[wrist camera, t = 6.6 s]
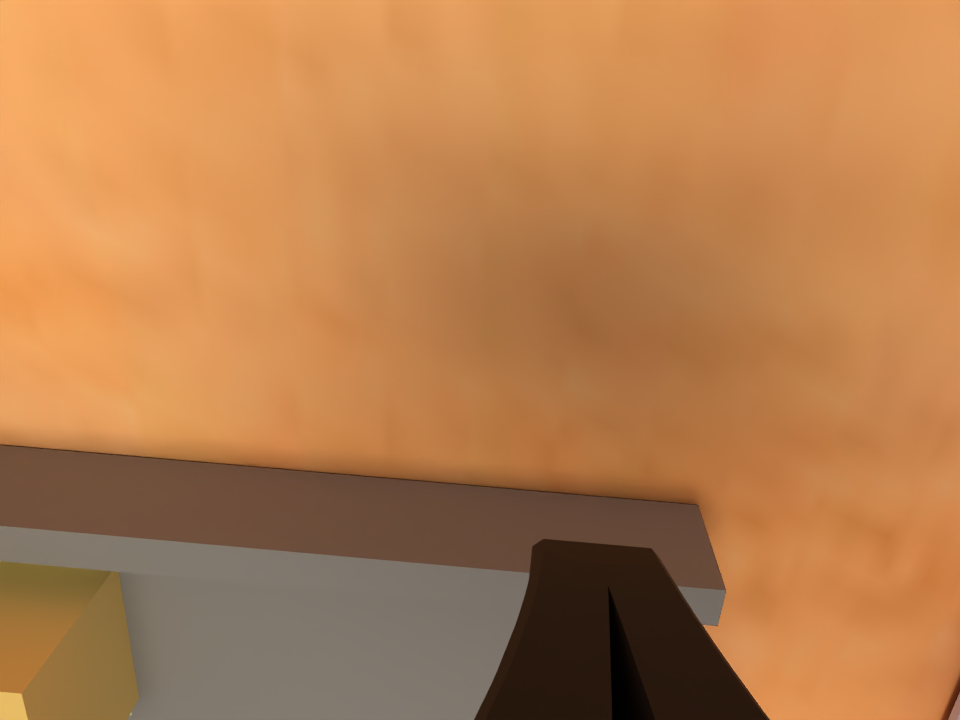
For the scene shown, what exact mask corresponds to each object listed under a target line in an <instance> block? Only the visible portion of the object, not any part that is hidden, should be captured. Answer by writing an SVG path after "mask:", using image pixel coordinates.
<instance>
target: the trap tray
mask: <svg viewBox="0 0 960 720" xmlns="http://www.w3.org/2000/svg"><path fill="white" fill-rule="evenodd" d="M542 539H552V540H563V541H575V542H587V543H598V544H610V545H621V546H633V547H644V548H652V549H653V551H654V552H655V553H656V554H657V555H658V557H659V558H660V559H661V561H662V563H663V564H664V566H665V568H666V569H667V571H668V572H669V574H670V576H671V577H672V579H673V580H674V582H675V584H676V585H677V587H678V588H679V590H680V592H681V593H682V595H683V596H684V598H685V599H686V601H687V603H688V604H689V606H690V607H691V609H692V610H693V612H694V613H695V615H696V616H697V618H698V619H699V621H700V622H701V624H702V625H711V626H718V622H719V618H720V614H721V610H722V606H723V602H724V597H725V593H726V589H725V586H724V583H723V580H722V576H721V573H720V570H719V567H718V564H717V561H716V558H715V555H714V552H713V549H712V546H711V543H710V540H709V537H708V534H707V531H706V528H705V525H704V522H703V519H702V516H701V513H700V509H699V506H698V505H690V504H679V503H667V502H655V501H644V500H632V499H620V498H609V497H597V496H586V495H574V494H562V493H551V492H539V491H528V490H516V489H504V488H493V487H481V486H469V485H458V484H446V483H435V482H423V481H411V480H400V479H388V478H377V477H365V476H353V475H342V474H330V473H318V472H307V471H295V470H284V469H272V468H260V467H249V466H237V465H226V464H214V463H202V462H191V461H179V460H168V459H156V458H144V457H133V456H121V455H109V454H98V453H86V452H75V451H63V450H51V449H40V448H28V447H17V446H5V445H0V561H4V562H15V563H26V564H37V565H48V566H59V567H70V568H81V569H92V570H104V571H115V572H119V577H120V583H121V590H122V596H123V602H124V608H125V614H126V621H127V627H128V633H129V639H130V646H131V652H132V658H133V664H134V671H135V677H136V683H137V689H138V695H139V699H138V701H137V703H136V705H135V706H134V708H133V710H132V712H131V713H130V715H129V717H128V719H127V720H474V719H475V717H476V714H477V712H478V710H479V708H480V706H481V704H482V702H483V700H484V698H485V696H486V694H487V692H488V690H489V688H490V686H491V684H492V681H493V679H494V677H495V675H496V672H497V670H498V667H499V665H500V662H501V660H502V657H503V655H504V652H505V650H506V647H507V645H508V642H509V640H510V637H511V634H512V632H513V629H514V627H515V624H516V622H517V619H518V615H519V612H520V609H521V606H522V603H523V600H524V596H525V593H526V589H527V585H528V581H529V572H530V563H531V554H532V546H533V545H535V544H536V543H538V542H539V541H541V540H542Z"/></svg>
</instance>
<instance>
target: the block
mask: <svg viewBox="0 0 960 720" xmlns="http://www.w3.org/2000/svg"><path fill="white" fill-rule="evenodd" d="M138 699H139V695H138V689H137V683H136V677H135V671H134V664H133V658H132V652H131V646H130V639H129V633H128V627H127V621H126V614H125V608H124V602H123V596H122V590H121V583H120V577H119V572H115V571H104V570H92V569H81V568H70V567H59V566H48V565H37V564H26V563H15V562H4V561H0V720H127V719H128V717H129V715H130V713H131V712H132V710H133V708H134V706H135V705H136V703H137V701H138Z"/></svg>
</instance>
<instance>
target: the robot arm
mask: <svg viewBox="0 0 960 720" xmlns="http://www.w3.org/2000/svg"><path fill="white" fill-rule="evenodd" d="M474 720H770V719H769V718H768V717H767V715H766V714H765V713H764V712H763V710H762V709H761V707H760V706H759V705H758V703H757V702H756V701H755V699H754V698H753V696H752V695H751V694H750V692H749V691H748V690H747V688H746V687H745V685H744V684H743V683H742V681H741V680H740V679H739V677H738V676H737V674H736V673H735V672H734V670H733V669H732V668H731V666H730V665H729V663H728V662H727V661H726V659H725V658H724V656H723V655H722V653H721V652H720V650H719V649H718V648H717V646H716V645H715V643H714V642H713V640H712V639H711V637H710V636H709V634H708V633H707V631H706V630H705V628H704V627H703V625H702V624H701V622H700V621H699V619H698V618H697V616H696V615H695V613H694V612H693V610H692V609H691V607H690V606H689V604H688V603H687V601H686V599H685V598H684V596H683V595H682V593H681V592H680V590H679V588H678V587H677V585H676V584H675V582H674V580H673V579H672V577H671V576H670V574H669V572H668V571H667V569H666V568H665V566H664V564H663V563H662V561H661V559H660V558H659V557H658V555H657V554H656V553H655V552H654V551H653V549H652V548H644V547H633V546H621V545H610V544H598V543H587V542H575V541H563V540H552V539H542V540H541V541H539V542H538V543H536V544H535V545H533V546H532V554H531V563H530V572H529V581H528V585H527V589H526V593H525V596H524V600H523V603H522V606H521V609H520V612H519V615H518V619H517V622H516V624H515V627H514V629H513V632H512V634H511V637H510V640H509V642H508V645H507V647H506V650H505V652H504V655H503V657H502V660H501V662H500V665H499V667H498V670H497V672H496V675H495V677H494V679H493V681H492V684H491V686H490V688H489V690H488V692H487V694H486V696H485V698H484V700H483V702H482V704H481V706H480V708H479V710H478V712H477V714H476V717H475V719H474ZM948 720H960V693H959V695H958V698H957V700H956V702H955V705H954V707H953V709H952V712H951V714H950V716H949V719H948Z"/></svg>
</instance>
